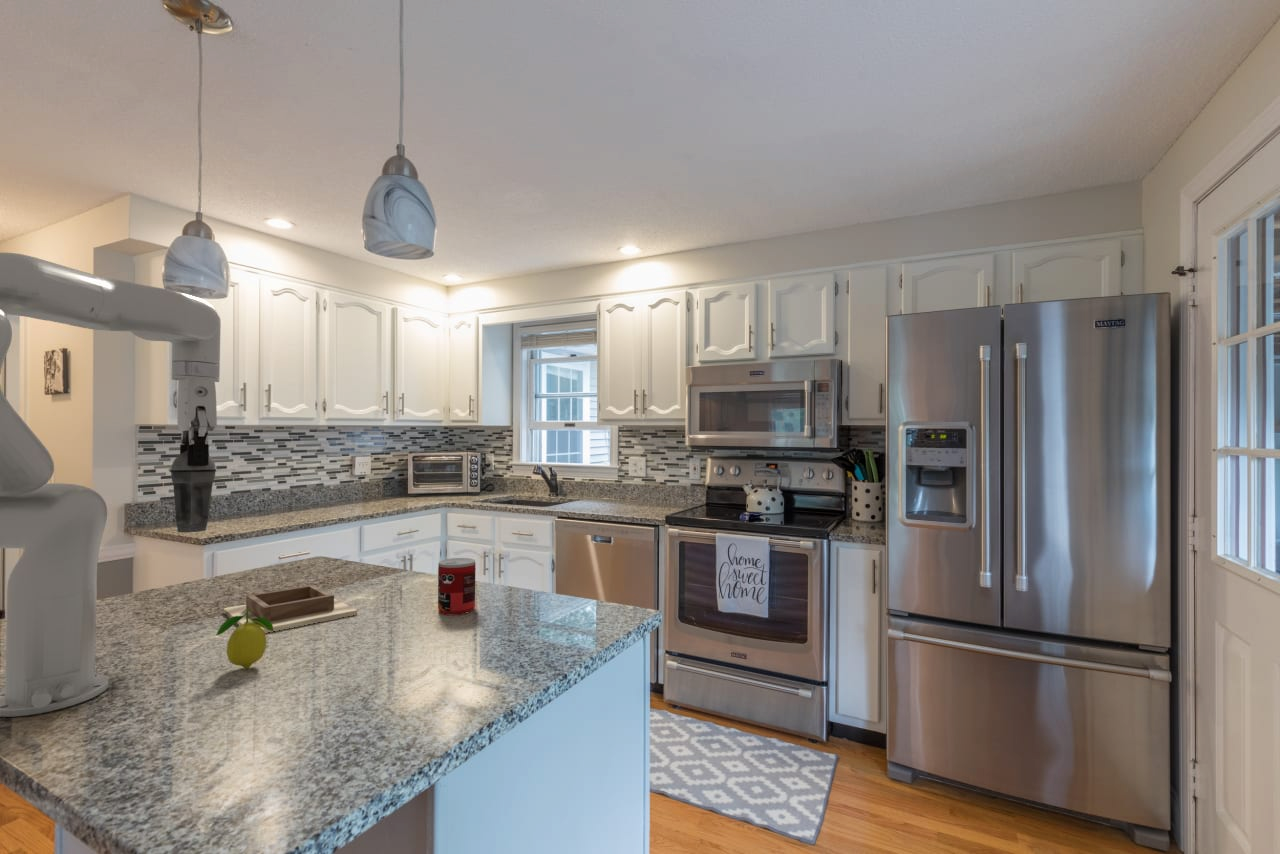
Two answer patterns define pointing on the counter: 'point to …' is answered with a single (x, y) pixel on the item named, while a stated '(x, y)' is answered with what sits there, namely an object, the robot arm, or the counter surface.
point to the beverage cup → (192, 493)
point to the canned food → (456, 585)
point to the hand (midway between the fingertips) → (193, 464)
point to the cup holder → (291, 607)
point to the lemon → (246, 640)
